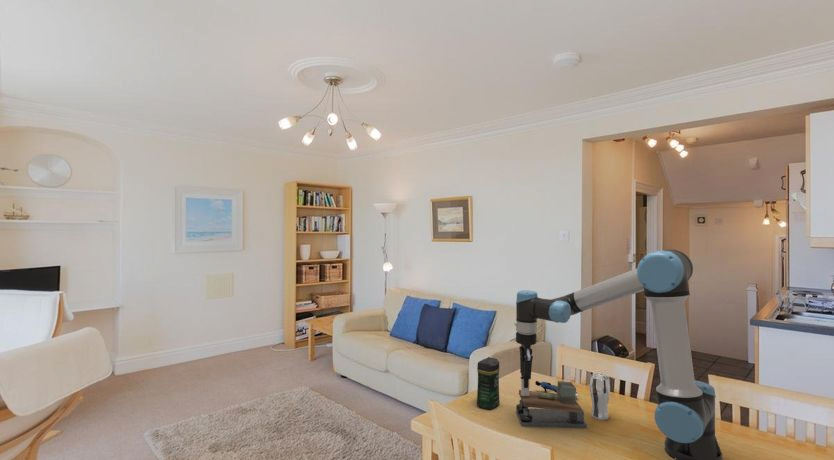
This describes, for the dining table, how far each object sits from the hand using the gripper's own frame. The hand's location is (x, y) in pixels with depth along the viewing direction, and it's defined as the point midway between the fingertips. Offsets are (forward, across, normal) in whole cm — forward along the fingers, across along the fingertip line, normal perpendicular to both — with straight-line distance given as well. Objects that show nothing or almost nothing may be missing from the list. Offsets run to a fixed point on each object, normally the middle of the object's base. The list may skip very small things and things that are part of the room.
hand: (525, 395), depth 157 cm
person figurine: (+9, -23, +18) cm, 31 cm away
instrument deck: (+2, 0, +9) cm, 9 cm away
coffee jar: (+9, -12, -12) cm, 19 cm away
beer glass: (+9, -4, +29) cm, 30 cm away
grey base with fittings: (+9, 0, +9) cm, 13 cm away
